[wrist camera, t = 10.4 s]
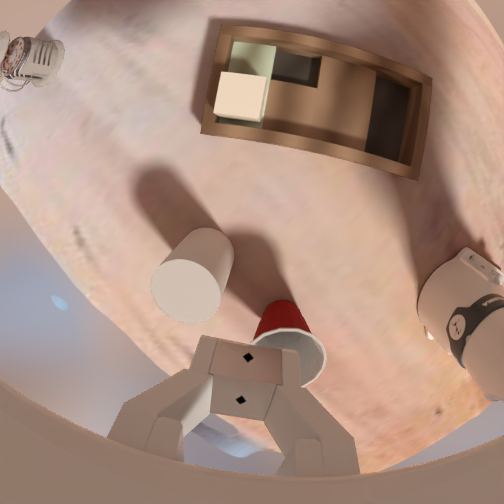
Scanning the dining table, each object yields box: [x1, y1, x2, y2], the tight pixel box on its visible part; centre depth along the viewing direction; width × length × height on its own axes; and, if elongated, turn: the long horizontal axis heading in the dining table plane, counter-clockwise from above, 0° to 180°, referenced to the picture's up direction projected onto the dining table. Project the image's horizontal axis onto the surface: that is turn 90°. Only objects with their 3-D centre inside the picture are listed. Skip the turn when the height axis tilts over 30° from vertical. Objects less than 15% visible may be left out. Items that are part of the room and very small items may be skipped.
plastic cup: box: [250, 300, 327, 388], centre depth 38 cm, size 11×11×12 cm
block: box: [213, 72, 267, 123], centre depth 29 cm, size 5×5×5 cm
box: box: [200, 25, 432, 181], centre depth 30 cm, size 28×15×4 cm, turn 81°
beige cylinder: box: [151, 227, 234, 324], centre depth 36 cm, size 8×8×12 cm
